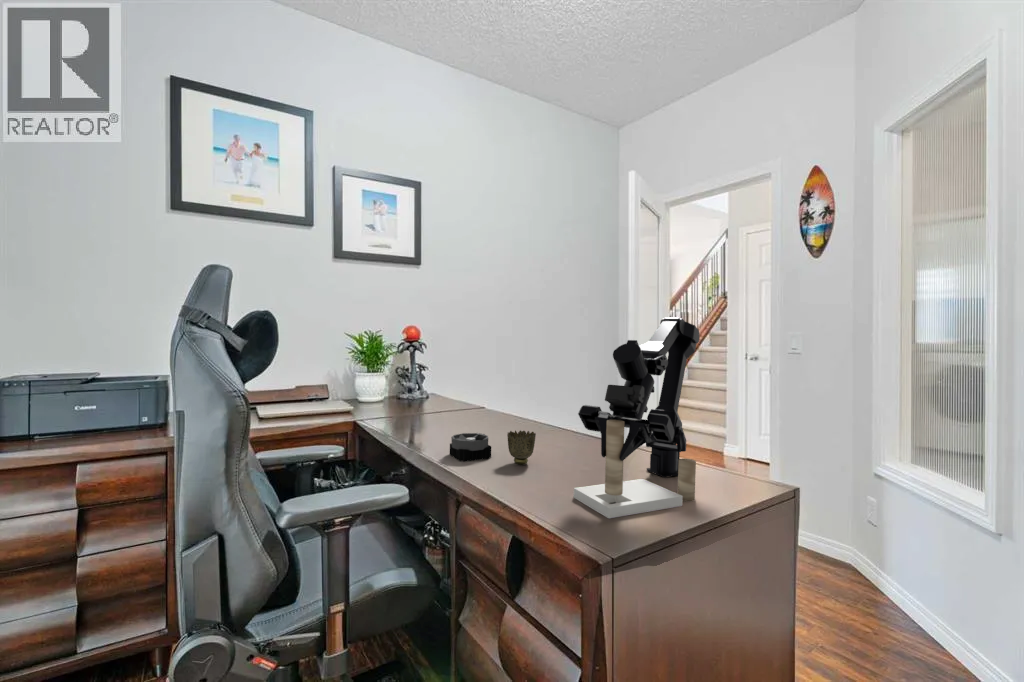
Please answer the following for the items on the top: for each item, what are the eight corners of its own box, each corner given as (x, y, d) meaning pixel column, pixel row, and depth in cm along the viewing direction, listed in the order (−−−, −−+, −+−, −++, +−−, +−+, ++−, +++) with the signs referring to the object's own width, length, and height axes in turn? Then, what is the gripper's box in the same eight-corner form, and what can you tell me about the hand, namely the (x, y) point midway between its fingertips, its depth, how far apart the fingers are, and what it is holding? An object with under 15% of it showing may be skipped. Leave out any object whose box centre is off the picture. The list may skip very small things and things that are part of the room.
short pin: (686, 495, 103) (687, 457, 103) (698, 500, 100) (699, 461, 100) (673, 496, 102) (675, 459, 102) (685, 502, 99) (687, 463, 99)
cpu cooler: (459, 441, 124) (446, 433, 133) (459, 463, 124) (445, 454, 133) (495, 438, 128) (480, 431, 137) (495, 459, 129) (479, 450, 138)
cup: (508, 458, 129) (509, 429, 129) (536, 460, 128) (536, 430, 128) (504, 466, 121) (505, 435, 121) (533, 468, 120) (534, 436, 120)
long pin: (609, 488, 97) (611, 418, 96) (625, 492, 95) (627, 421, 94) (601, 492, 94) (603, 421, 94) (617, 496, 92) (619, 423, 92)
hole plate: (642, 487, 107) (642, 478, 107) (682, 505, 97) (682, 495, 96) (573, 497, 100) (573, 488, 100) (608, 518, 89) (608, 507, 89)
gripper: (583, 367, 102) (555, 426, 94) (671, 373, 91) (649, 441, 83) (598, 400, 109) (574, 458, 100) (682, 409, 98) (663, 476, 89)
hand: (611, 457), depth 93 cm, fingers closed on long pin, 3 cm apart
